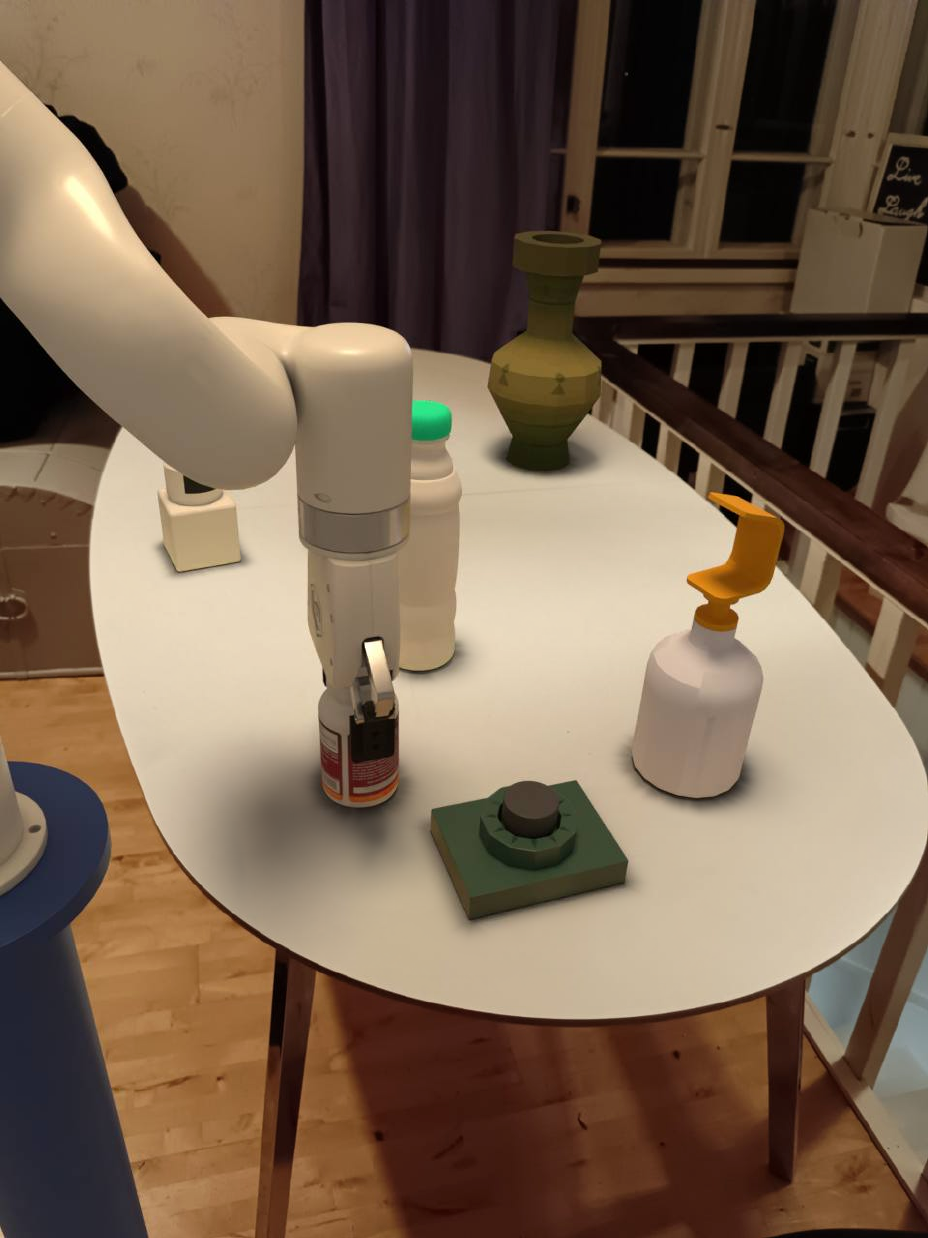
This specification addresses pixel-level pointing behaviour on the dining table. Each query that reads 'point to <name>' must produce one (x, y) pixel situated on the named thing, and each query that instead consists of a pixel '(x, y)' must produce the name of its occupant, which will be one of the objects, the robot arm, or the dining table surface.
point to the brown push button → (530, 809)
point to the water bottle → (430, 544)
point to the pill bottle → (337, 769)
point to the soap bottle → (708, 672)
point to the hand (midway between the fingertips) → (356, 718)
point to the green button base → (525, 853)
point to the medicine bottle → (197, 523)
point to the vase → (547, 353)
